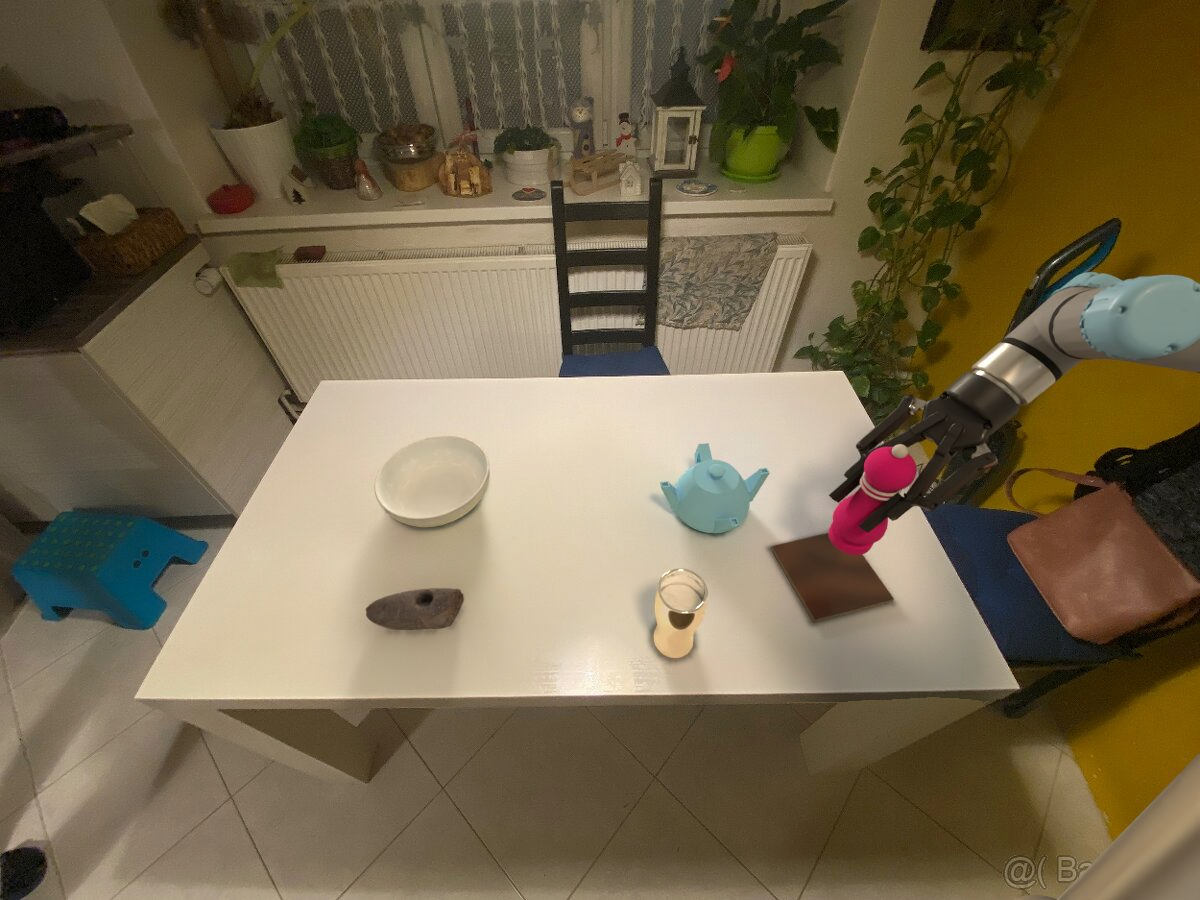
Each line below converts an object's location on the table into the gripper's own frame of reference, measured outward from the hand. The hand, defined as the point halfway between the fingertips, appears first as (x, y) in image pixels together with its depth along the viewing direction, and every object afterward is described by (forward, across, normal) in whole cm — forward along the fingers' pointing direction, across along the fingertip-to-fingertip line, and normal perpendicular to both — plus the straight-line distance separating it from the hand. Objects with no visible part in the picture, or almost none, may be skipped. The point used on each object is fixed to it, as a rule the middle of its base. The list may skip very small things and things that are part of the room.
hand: (848, 513), depth 71 cm
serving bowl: (+50, +44, +24) cm, 71 cm away
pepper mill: (+3, 0, -9) cm, 9 cm away
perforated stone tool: (+56, +21, +29) cm, 67 cm away
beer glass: (+31, +1, +4) cm, 32 cm away
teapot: (+18, +20, -9) cm, 29 cm away
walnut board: (+11, 0, -16) cm, 19 cm away
